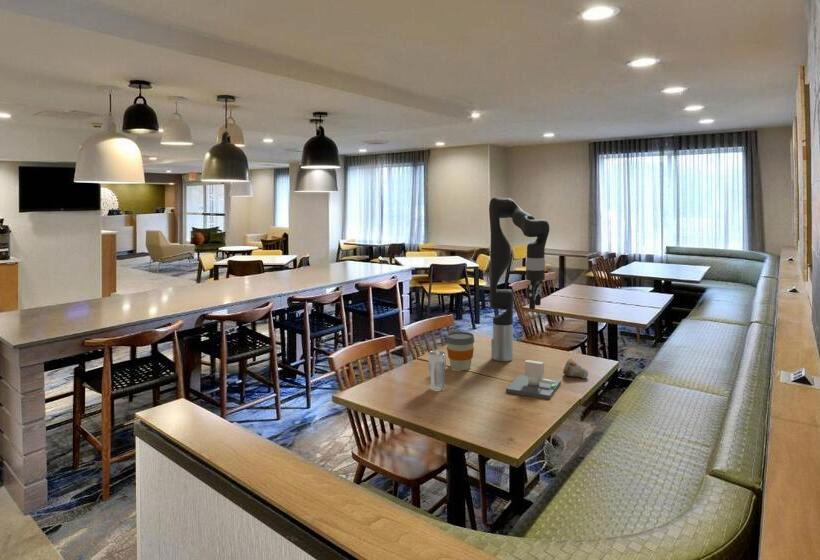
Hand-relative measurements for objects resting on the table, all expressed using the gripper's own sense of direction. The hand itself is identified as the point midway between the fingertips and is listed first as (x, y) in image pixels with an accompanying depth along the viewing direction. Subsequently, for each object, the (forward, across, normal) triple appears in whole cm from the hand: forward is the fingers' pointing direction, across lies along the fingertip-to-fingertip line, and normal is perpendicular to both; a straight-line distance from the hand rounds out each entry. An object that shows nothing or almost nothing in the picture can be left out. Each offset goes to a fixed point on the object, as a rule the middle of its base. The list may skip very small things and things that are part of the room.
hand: (535, 307), depth 215 cm
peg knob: (+28, -13, -5) cm, 32 cm away
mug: (+30, +8, -16) cm, 35 cm away
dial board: (+30, -13, -4) cm, 33 cm away
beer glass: (+30, -30, +31) cm, 53 cm away
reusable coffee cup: (+30, -2, +33) cm, 45 cm away
